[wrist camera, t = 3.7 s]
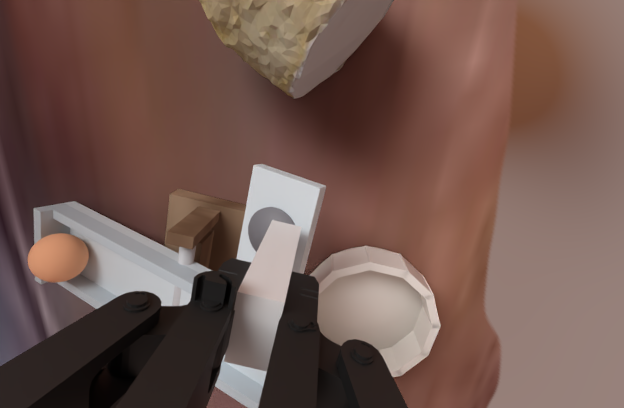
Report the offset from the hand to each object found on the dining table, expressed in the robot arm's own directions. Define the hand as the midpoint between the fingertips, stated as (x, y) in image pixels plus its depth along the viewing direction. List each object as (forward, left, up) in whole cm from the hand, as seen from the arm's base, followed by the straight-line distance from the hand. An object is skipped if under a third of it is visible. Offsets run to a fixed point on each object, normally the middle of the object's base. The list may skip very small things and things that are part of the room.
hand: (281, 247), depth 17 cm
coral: (-2, +13, -9) cm, 16 cm away
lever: (-8, -4, -5) cm, 10 cm away
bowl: (+7, -7, -9) cm, 14 cm away
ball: (-16, -7, -6) cm, 18 cm away
